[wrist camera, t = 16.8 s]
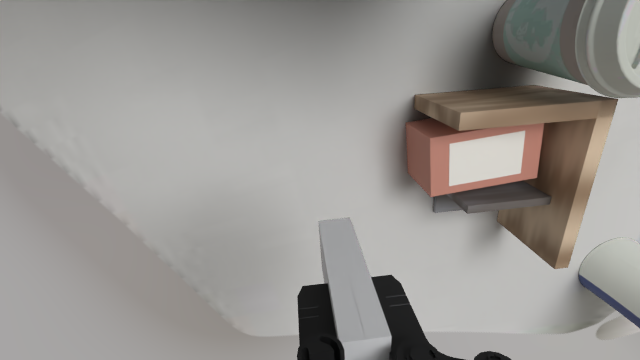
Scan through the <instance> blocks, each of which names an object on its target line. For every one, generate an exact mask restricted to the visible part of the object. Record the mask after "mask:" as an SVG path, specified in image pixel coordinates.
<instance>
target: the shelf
mask: <svg viewBox="0 0 640 360" xmlns="http://www.w3.org/2000/svg"><path fill="white" fill-rule="evenodd" d="M617 102H618V99H614V98H608V97H602V96H596V95H590V94H584V93H578V92H572V91H566V90H560V89H554V88H548V87H542V86H536V85H529V86H517V87H504V88H492V89H480V90H468V91H456V92H444V93H432V94H420V95H415V103H414V109H416V110H418V111H420V112H422V113H424V114H426V115H428V116H430V117H432V118H434V119H436V120H438V121H440V122H442V123H444V124H446V125H448V126H450V127H452V128H454V129H456V130H458V131H463V130H474V129H485V128H496V127H507V126H518V125H529V124H540V123H544V128H543V136H542V143H541V151H540V158H539V166H538V173H537V178H533V179H527V180H522V181H516V182H511V183H505V184H500V185H494V186H489V187H483V188H478V189H472V190H467V191H461V192H456V193H450V194H445V195H439V196H435V198H434V209H433V211H434V212H435V213H437V212H446V211H456V210H464V211H465V212H466V213H467V214H468V213H477V212H486V211H495V210H499V213H498V218H497V221H498V222H499V223H500V224H501V225H502V226H504V227H505V228H506V229H507V230H508V231H510V232H511V233H512V234H513V235H514V236H516V237H517V238H518V239H519V240H520V241H522V242H523V243H524V244H525V245H526V246H528V247H529V248H530V249H531V250H532V251H533V252H535V253H536V254H537V255H538V256H539V257H541V258H542V259H543V260H544V261H545V262H547V263H548V264H549V265H550V266H551V267H553V268H554V269H559V268H567V267H568V265H569V262H570V259H571V255H572V252H573V249H574V245H575V242H576V239H577V235H578V232H579V229H580V225H581V222H582V219H583V215H584V212H585V209H586V205H587V202H588V199H589V195H590V192H591V188H592V185H593V182H594V178H595V175H596V172H597V168H598V165H599V162H600V158H601V155H602V152H603V148H604V145H605V142H606V138H607V135H608V132H609V128H610V125H611V122H612V118H613V115H614V112H615V108H616V105H617Z"/></svg>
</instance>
